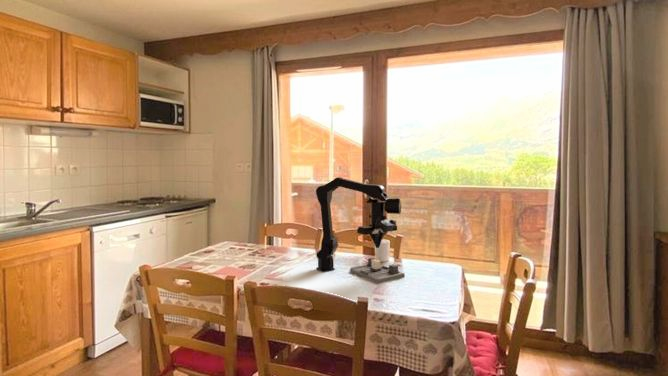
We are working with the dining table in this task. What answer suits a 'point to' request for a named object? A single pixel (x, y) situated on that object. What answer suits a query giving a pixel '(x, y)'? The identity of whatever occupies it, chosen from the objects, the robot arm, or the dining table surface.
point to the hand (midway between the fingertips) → (377, 247)
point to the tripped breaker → (375, 265)
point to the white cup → (383, 251)
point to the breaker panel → (380, 276)
